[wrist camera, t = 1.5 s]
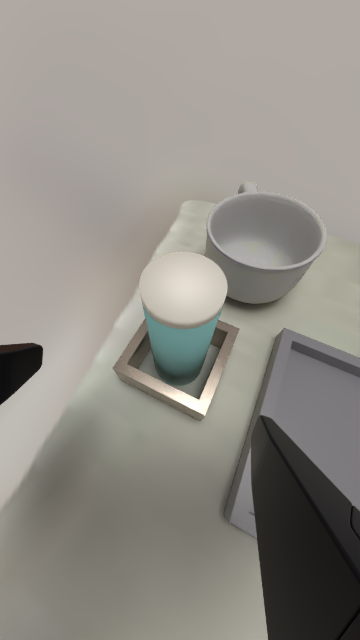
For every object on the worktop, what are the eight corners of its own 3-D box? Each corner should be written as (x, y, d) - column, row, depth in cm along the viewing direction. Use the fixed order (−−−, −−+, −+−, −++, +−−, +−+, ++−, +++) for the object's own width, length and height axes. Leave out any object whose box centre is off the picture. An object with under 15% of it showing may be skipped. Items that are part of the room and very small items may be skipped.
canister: (190, 393, 21) (207, 336, 10) (146, 372, 22) (121, 298, 11) (209, 351, 23) (239, 268, 12) (168, 333, 24) (165, 241, 13)
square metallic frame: (200, 421, 20) (205, 415, 17) (121, 380, 21) (112, 368, 18) (230, 344, 23) (239, 328, 20) (161, 314, 25) (160, 295, 22)
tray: (479, 667, 13) (525, 699, 12) (223, 514, 17) (229, 522, 15) (449, 407, 21) (474, 403, 19) (276, 336, 24) (284, 327, 22)
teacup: (292, 323, 25) (339, 273, 18) (194, 309, 25) (202, 256, 18) (282, 237, 32) (313, 177, 25) (205, 228, 32) (214, 167, 25)
